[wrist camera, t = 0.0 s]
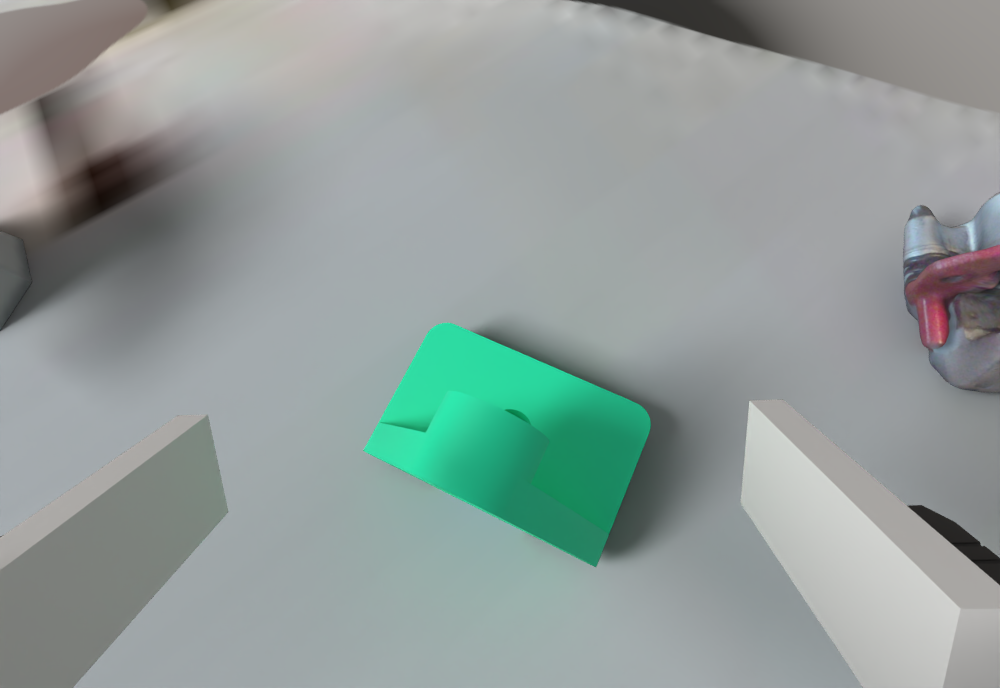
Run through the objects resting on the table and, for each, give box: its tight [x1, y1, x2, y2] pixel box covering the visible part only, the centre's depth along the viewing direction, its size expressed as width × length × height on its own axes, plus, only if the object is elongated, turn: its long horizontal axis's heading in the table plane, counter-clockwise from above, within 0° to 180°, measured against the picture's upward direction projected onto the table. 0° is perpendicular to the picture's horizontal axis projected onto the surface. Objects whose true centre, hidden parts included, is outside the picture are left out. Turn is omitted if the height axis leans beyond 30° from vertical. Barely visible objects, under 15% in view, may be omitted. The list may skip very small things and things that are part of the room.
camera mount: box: [363, 323, 651, 567], centre depth 24 cm, size 12×8×10 cm, turn 65°
